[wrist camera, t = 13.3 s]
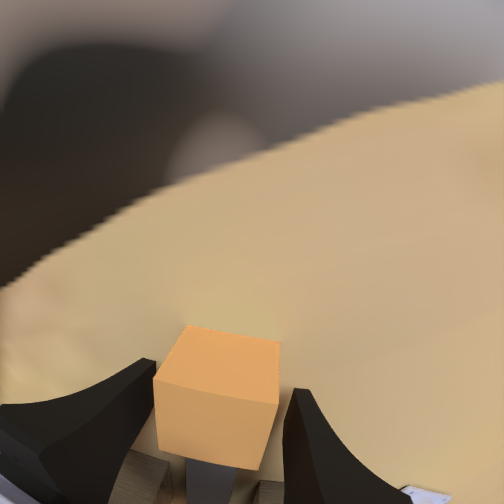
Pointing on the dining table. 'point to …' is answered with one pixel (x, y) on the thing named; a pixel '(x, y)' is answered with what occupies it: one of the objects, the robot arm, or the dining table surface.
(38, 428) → the robot arm
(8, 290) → the dining table surface
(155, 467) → the housing
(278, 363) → the plug
